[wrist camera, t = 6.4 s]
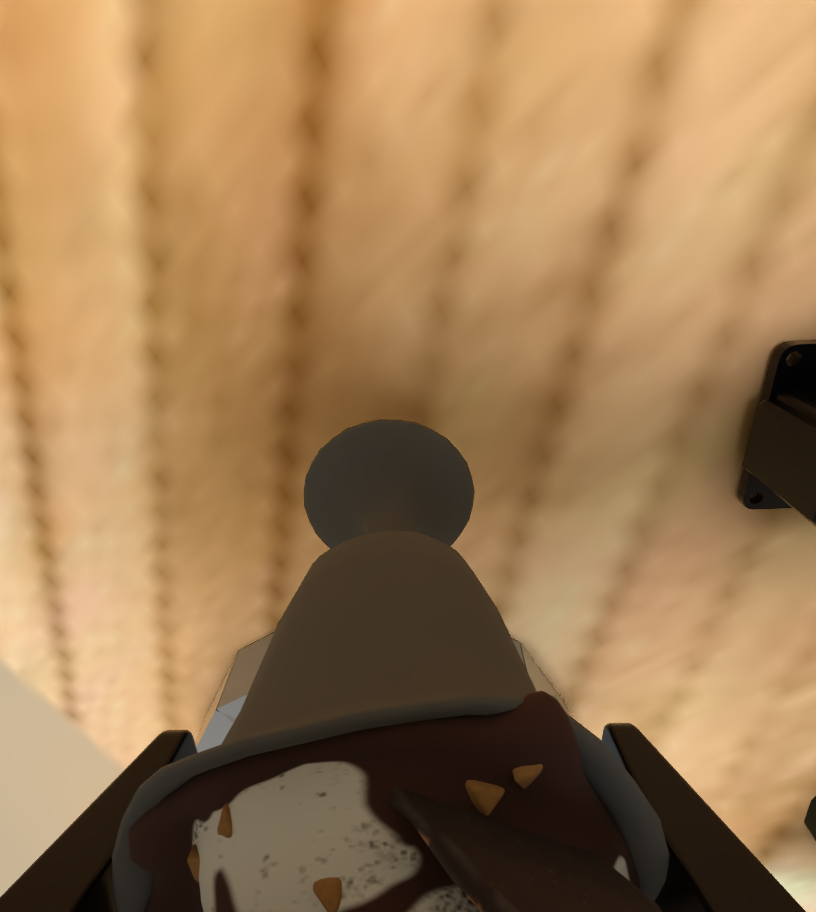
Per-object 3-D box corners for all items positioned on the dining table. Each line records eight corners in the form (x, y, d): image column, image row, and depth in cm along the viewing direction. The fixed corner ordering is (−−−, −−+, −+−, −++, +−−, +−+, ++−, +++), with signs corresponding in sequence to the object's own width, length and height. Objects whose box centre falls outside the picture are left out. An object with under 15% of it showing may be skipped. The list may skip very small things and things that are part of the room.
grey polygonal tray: (576, 599, 24) (599, 655, 21) (550, 839, 32) (564, 903, 29) (175, 612, 24) (143, 669, 21) (247, 845, 32) (231, 909, 29)
